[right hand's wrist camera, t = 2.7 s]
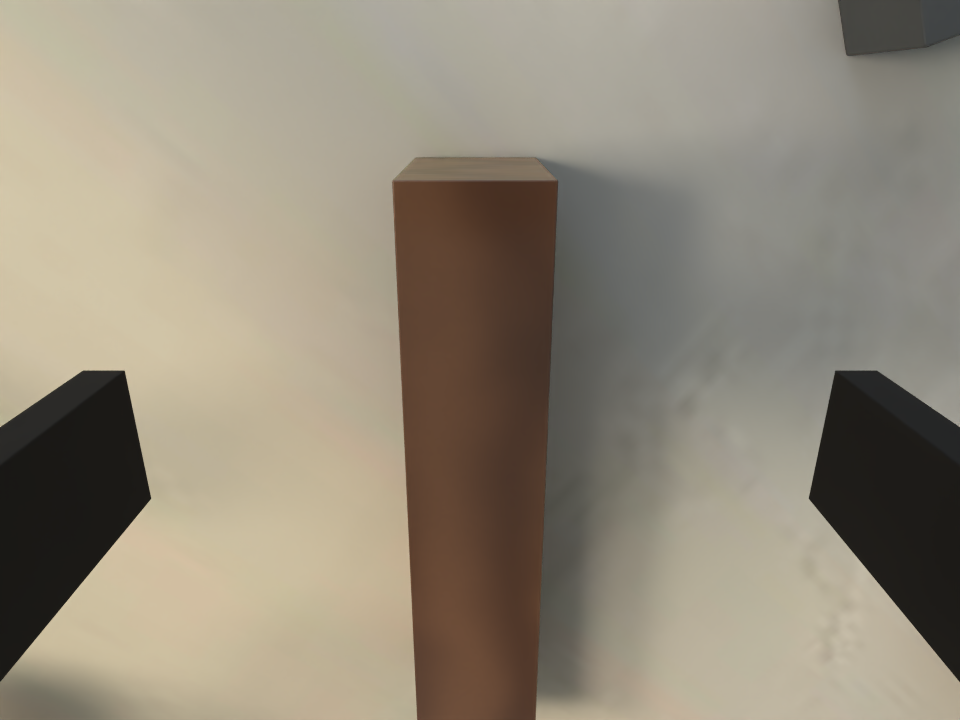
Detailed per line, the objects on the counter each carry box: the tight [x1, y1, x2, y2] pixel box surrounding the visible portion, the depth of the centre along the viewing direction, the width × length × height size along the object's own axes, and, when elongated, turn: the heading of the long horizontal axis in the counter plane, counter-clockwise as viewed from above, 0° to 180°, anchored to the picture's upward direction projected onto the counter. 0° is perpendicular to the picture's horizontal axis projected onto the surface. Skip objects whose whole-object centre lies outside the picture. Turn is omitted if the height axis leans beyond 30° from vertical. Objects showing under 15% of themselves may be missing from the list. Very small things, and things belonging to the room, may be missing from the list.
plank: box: [392, 158, 558, 720], centre depth 29 cm, size 5×28×8 cm, turn 0°
